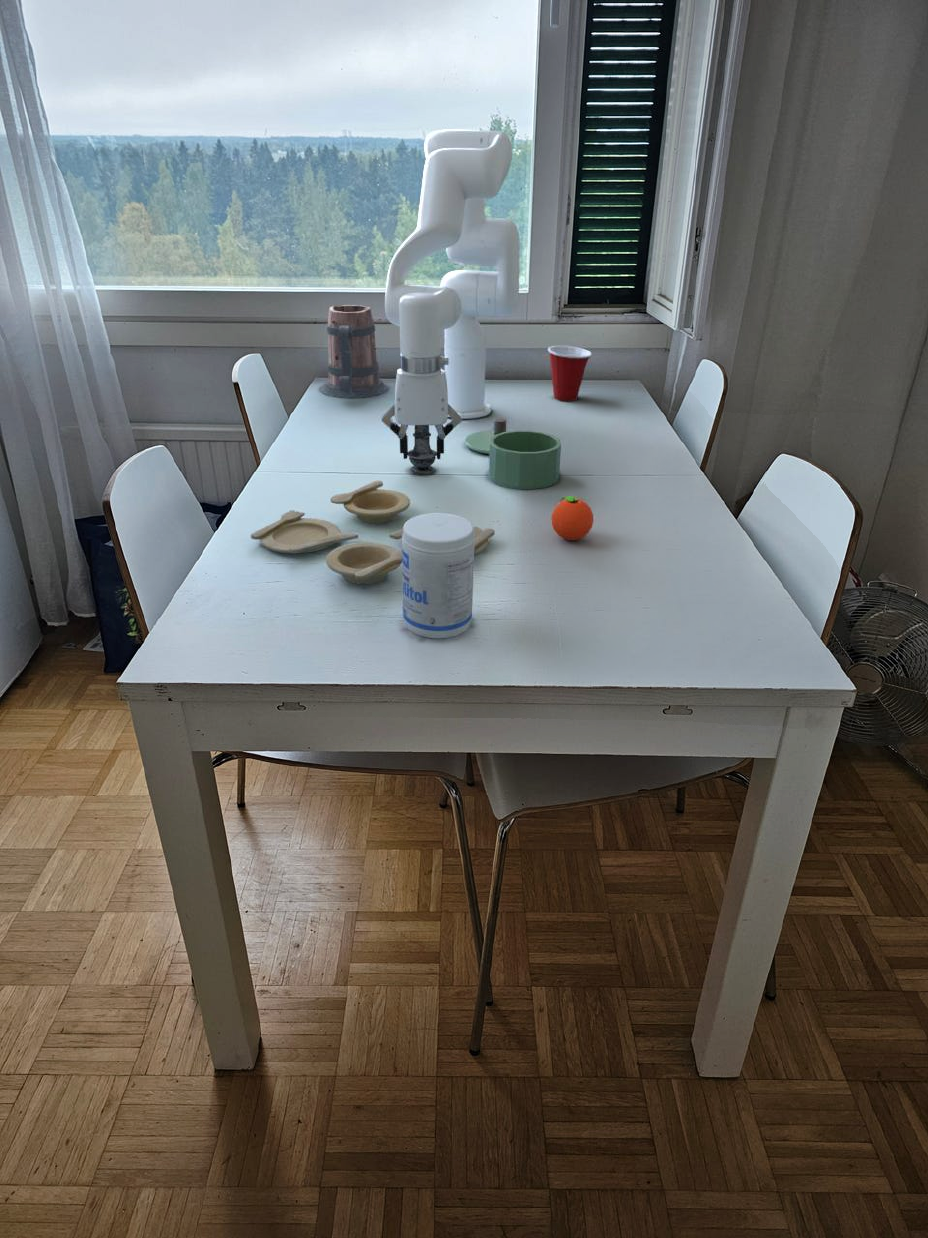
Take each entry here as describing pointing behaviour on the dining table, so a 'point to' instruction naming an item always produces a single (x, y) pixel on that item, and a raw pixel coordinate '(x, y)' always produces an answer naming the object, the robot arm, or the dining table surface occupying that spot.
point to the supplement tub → (437, 574)
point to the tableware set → (350, 535)
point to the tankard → (352, 353)
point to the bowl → (524, 459)
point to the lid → (486, 436)
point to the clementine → (572, 518)
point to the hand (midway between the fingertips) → (422, 455)
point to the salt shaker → (422, 452)
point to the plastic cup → (567, 370)
